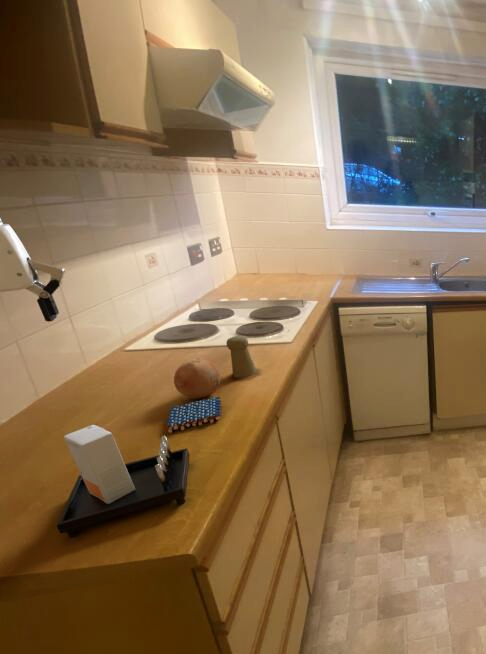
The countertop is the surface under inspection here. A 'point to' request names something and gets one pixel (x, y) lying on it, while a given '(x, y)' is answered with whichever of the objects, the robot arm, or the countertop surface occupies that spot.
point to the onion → (197, 378)
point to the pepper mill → (240, 357)
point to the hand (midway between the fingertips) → (12, 324)
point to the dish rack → (150, 490)
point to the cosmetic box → (100, 463)
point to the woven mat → (194, 413)
